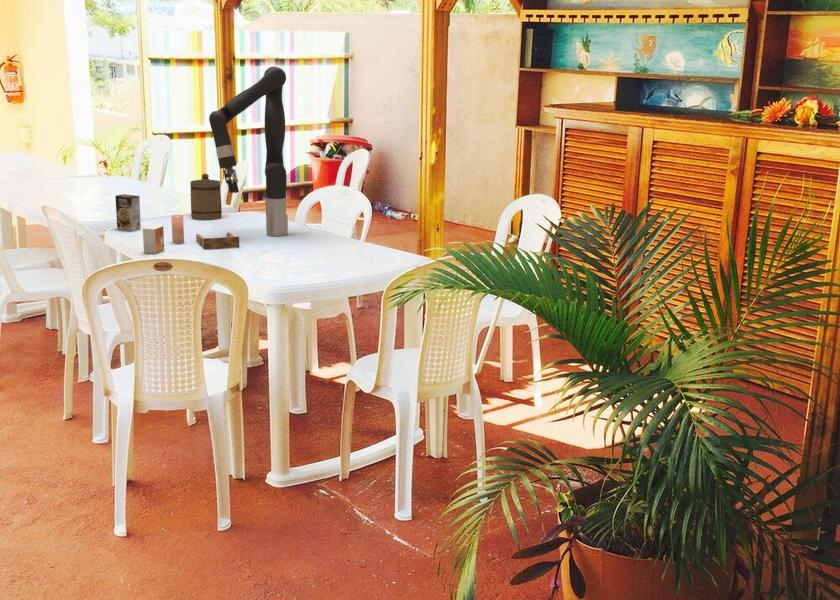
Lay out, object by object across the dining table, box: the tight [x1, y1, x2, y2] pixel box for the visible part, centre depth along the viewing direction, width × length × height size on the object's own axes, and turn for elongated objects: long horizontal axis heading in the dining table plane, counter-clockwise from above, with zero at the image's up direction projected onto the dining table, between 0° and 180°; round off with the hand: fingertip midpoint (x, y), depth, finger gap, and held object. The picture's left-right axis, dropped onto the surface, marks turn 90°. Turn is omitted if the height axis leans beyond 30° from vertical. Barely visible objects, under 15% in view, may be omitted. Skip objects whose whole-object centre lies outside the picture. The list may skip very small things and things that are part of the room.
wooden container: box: [189, 173, 223, 221], centre depth 471 cm, size 15×15×22 cm
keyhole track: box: [195, 232, 240, 251], centre depth 414 cm, size 15×18×5 cm
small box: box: [142, 225, 165, 255], centre depth 396 cm, size 8×6×10 cm
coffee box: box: [115, 193, 142, 232], centre depth 438 cm, size 9×6×16 cm
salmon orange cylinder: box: [170, 214, 185, 245], centre depth 414 cm, size 5×5×12 cm
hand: (234, 192), depth 420 cm, fingers open, 8 cm apart
